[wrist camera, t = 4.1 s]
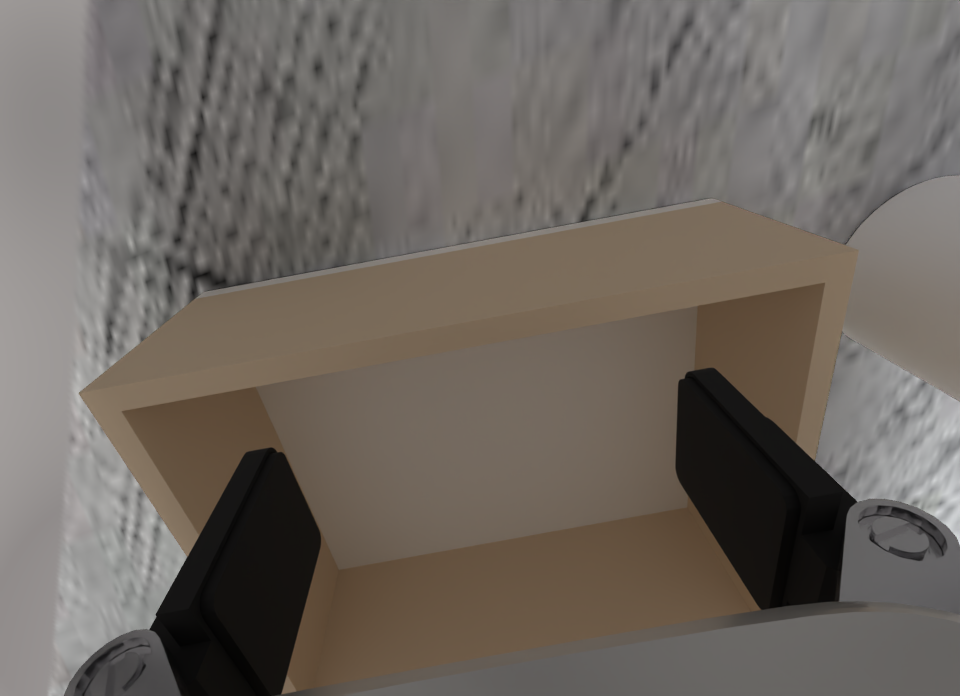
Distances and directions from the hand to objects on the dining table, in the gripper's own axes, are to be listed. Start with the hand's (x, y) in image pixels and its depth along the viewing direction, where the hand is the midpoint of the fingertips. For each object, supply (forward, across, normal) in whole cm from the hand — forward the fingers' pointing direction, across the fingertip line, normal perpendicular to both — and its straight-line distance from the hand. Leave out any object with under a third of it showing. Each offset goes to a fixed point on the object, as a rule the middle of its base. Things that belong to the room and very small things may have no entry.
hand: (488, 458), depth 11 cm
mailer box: (+11, 0, +7) cm, 13 cm away
